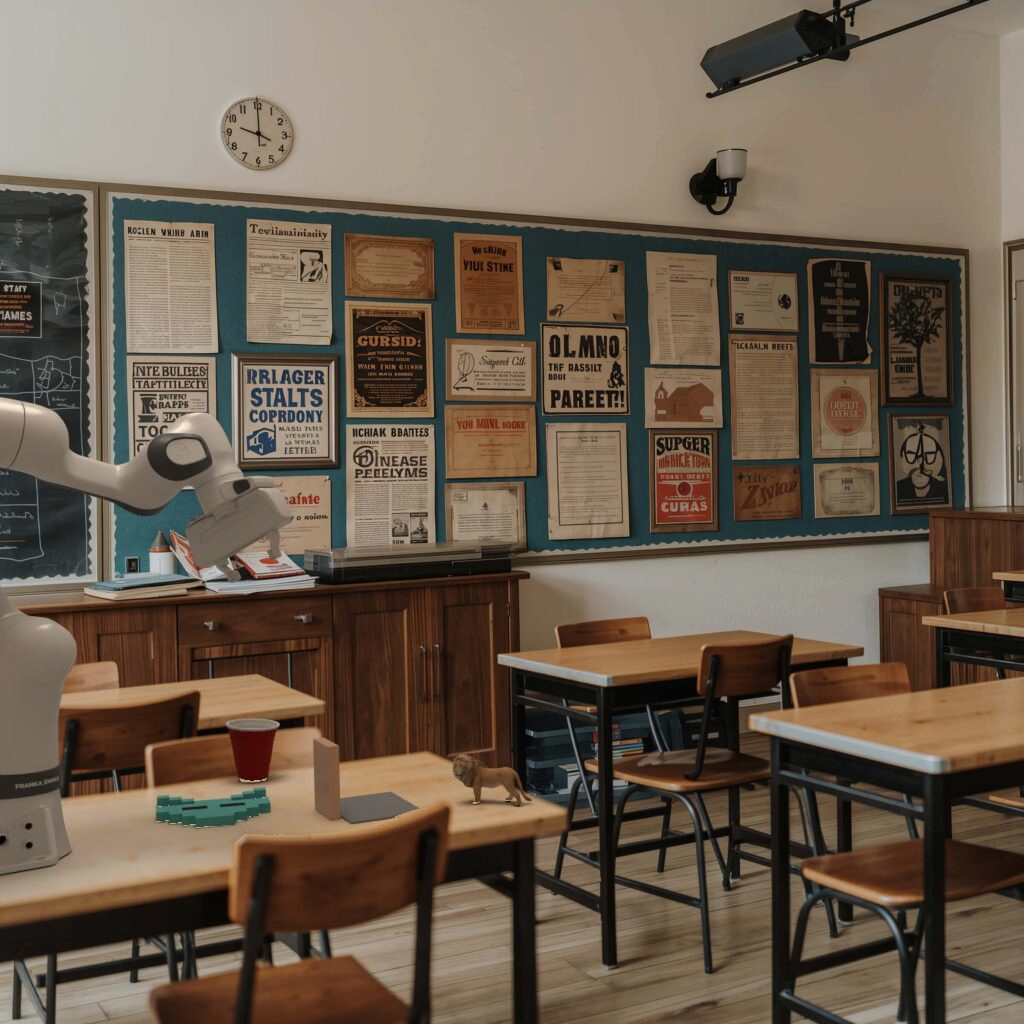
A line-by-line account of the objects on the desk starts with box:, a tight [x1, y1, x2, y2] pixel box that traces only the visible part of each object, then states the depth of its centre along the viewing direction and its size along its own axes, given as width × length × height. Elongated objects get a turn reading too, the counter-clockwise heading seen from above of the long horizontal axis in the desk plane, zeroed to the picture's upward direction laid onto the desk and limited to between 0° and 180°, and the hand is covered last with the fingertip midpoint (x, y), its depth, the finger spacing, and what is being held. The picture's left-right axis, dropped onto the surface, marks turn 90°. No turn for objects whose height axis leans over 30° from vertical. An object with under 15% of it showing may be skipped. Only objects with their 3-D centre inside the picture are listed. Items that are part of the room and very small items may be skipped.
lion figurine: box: [452, 753, 533, 806], centre depth 227 cm, size 15×5×9 cm, turn 82°
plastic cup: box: [225, 718, 281, 781], centre depth 250 cm, size 11×11×12 cm
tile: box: [312, 737, 342, 821], centre depth 222 cm, size 2×9×13 cm, turn 26°
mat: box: [340, 791, 420, 825], centre depth 225 cm, size 14×18×1 cm
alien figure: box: [155, 786, 271, 828], centre depth 224 cm, size 20×2×20 cm
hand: (255, 569), depth 215 cm, fingers open, 8 cm apart
